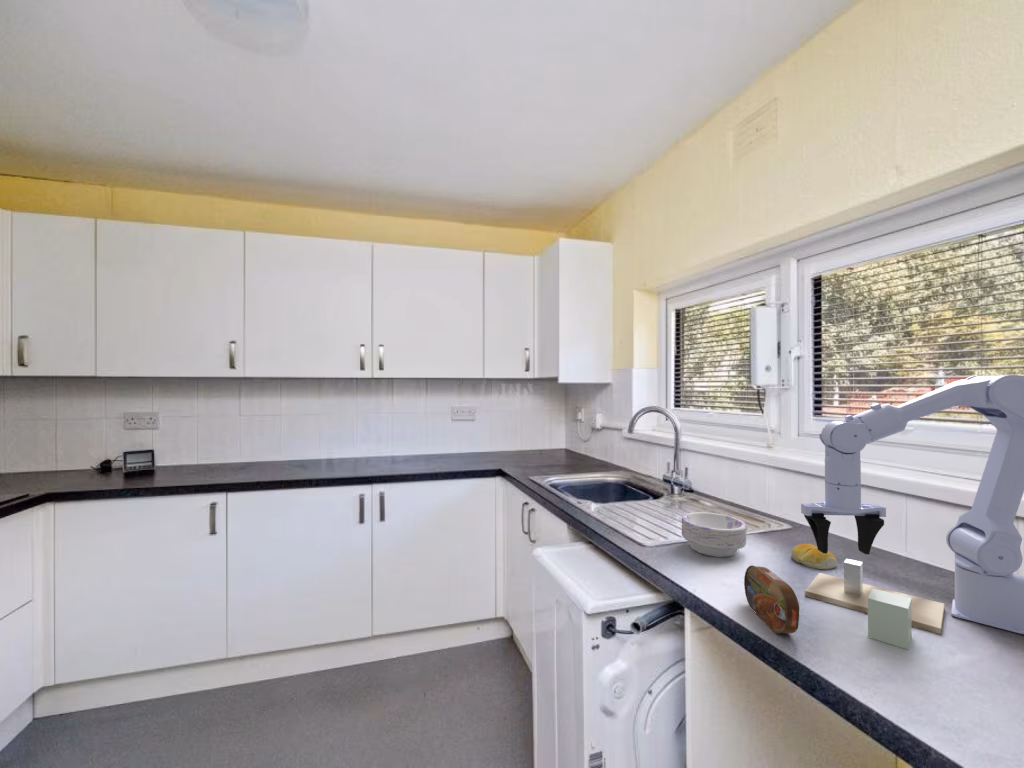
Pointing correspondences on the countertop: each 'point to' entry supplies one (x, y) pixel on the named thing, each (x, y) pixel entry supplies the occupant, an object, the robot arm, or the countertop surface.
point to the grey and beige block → (853, 577)
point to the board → (832, 591)
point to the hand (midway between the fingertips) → (843, 552)
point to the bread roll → (813, 557)
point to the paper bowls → (714, 533)
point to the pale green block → (890, 618)
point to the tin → (771, 599)
